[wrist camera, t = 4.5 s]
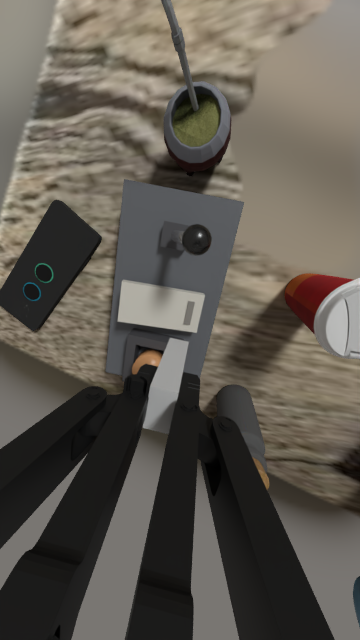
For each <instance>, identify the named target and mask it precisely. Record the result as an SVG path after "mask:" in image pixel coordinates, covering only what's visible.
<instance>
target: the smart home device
mask: <svg viewBox="0 0 360 640" xmlns="http://www.w3.org/2000/svg"><path fill="white" fill-rule="evenodd" d="M101 240H102V237H101V236H100V235H99V234H98V233H97V232H96V231H95V230H94V229H92V228H91V227H90V226H89V225H88V224H87V223H86V222H85V221H84V220H82V219H81V218H80V217H79V216H78V215H77V214H76V213H75V212H73V211H72V210H71V209H70V208H69V207H68V206H67V205H66V204H65V203H63V202H62V201H59V200H54V201H53V202H52V203H51V205H50V207H49V208H48V210H47V212H46V213H45V215H44V217H43V219H42V220H41V222H40V224H39V225H38V227H37V229H36V230H35V232H34V234H33V236H32V237H31V239H30V241H29V242H28V244H27V246H26V247H25V249H24V251H23V253H22V254H21V256H20V258H19V259H18V261H17V263H16V264H15V266H14V268H13V270H12V271H11V273H10V275H9V276H8V278H7V280H6V282H5V283H4V285H3V287H2V288H1V290H0V306H2V307H3V308H4V309H6V310H7V311H8V312H9V313H11V314H12V315H13V316H14V317H16V318H17V319H18V320H19V321H21V322H22V323H23V324H25V325H26V326H27V327H28V328H30V329H31V330H32V331H34V330H36V329H38V328H40V327H41V326H42V325H43V324H44V322H45V321H46V319H47V318H48V317H49V315H50V314H51V312H52V311H53V309H54V308H55V307H56V305H57V304H58V302H59V301H60V300H61V298H62V297H63V295H64V294H65V293H66V291H67V290H68V288H69V287H70V285H71V284H72V283H73V281H74V280H75V278H76V277H77V276H78V274H79V273H80V271H81V270H82V269H83V268H84V267H85V266H86V264H87V263H88V261H89V260H90V258H91V256H92V254H93V253H94V252H95V250H96V249H97V247H98V246H99V244H100V243H101Z"/></svg>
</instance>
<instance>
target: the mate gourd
mask: <svg viewBox="0 0 360 640" xmlns="http://www.w3.org/2000/svg"><path fill="white" fill-rule="evenodd" d="M161 1H162V4H163V7H164V10H165V12H166V15H167V18H168V21H169V24H170V27H171V30H172V33H171V35H172V40H173V43H174V47H175V50H176V51H177V52H178V55H179V59H180V63H181V66H182V70H183V74H184V77H185V81H186V85H185V86H184V87H182V88H180V89H178V90H177V92H176V93H175V94H174V96H173V97H172V98H171V100H170V101H169V103H168V106H167V109H166V112H165V116H164V140H165V143H166V146H167V149H168V152H169V154H170V156H171V157H172V158H173V159H174V160H175V162H176V163H177V164H178V165H179V166H180V167H181V168H182V169H184V170H185V172H187V173H186V174H187V175H189V176H192V175H193V173H194V172H195V171H204V170H206V169H208V168H210V167H212V166H214V165H215V164H216V163H217V162H219V163H220V162H221V160H222V157H223V155H224V154H225V152H226V149H227V146H228V143H229V140H230V135H231V116H230V111H229V108H228V104H227V101H226V98H225V97H224V96H223V95H222V93H221V92H220V91H219V90H218V88H217V87H215V86H213V85H211V84H208V83H206V82H192V78H191V74H190V70H189V66H188V61H187V57H186V53H185V48H184V47H185V41H184V37H183V33H182V29H181V28H180V27H179V25H178V22H177V19H176V16H175V12H174V9H173V6H172V3H171V0H161Z"/></svg>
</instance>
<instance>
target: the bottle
mask: <svg viewBox="0 0 360 640" xmlns="http://www.w3.org/2000/svg"><path fill="white" fill-rule="evenodd" d="M217 416H225V417H228V418H230V419H232V420H233V421H234V422H236V424H237V425H238V427H239V429H240V431H241V434H242V436H243V438H244V440H245V442H246V445H247V447H248V449H249V451H250V453H251V456H252V458H253V460H254V462H255V465H256V467H257V469H258V471H259V473H260V476H261V478H262V480H263V482H264V484H265V487H266V489H268V487H269V479H268V477H267V475H266V472H267V464H266V460H265V457H264V454H265V446H264V441H263V438H262V434H261V430H260V427H259V423H258V420H257V416H256V412H255V409H254V405H253V402H252V399H251V396H250V393H249V392H248V391H247V390H246V389H245V388H244V387H242V386H239V385H228V386H225V387H224V388H222V389H221V390H220V391H219V393H218V395H217Z"/></svg>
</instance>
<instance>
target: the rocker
mask: <svg viewBox="0 0 360 640" xmlns="http://www.w3.org/2000/svg"><path fill="white" fill-rule="evenodd" d="M204 298H205V295H204V293H200V292H194V291H188V290H182V289H176V288H170V287H164V286H158V285H152V284H147V283H141V282H135V281H129V280H123V281H122V284H121V294H120V303H119V313H118V322H125V323H132V324H139V325H146V326H153V327H160V328H167V329H174V330H181V331H188V332H195V333H197V329H198V324H199V320H200V315H201V311H202V307H203V302H204Z"/></svg>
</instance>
